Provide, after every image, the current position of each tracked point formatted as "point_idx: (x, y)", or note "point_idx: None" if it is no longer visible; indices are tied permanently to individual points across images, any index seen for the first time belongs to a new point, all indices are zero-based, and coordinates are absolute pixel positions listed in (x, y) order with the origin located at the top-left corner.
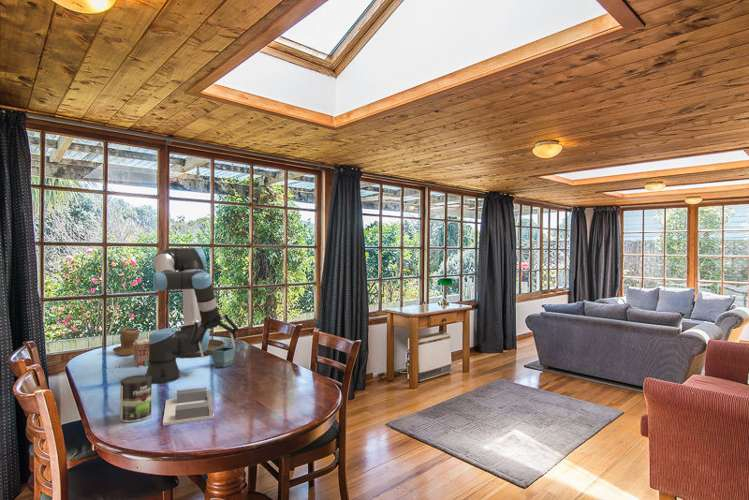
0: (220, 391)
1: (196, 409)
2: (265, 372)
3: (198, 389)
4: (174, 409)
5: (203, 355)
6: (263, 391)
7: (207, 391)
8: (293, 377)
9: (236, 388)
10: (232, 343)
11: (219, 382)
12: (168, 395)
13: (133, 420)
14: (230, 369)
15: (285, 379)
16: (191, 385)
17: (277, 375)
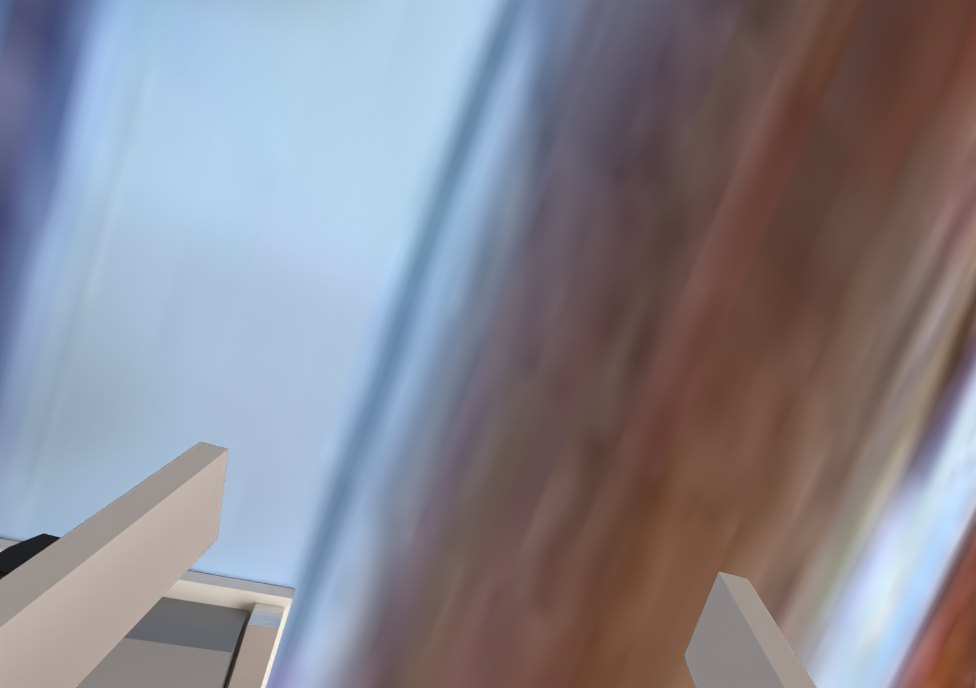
0: (396, 506)
1: None
2: (810, 272)
3: (151, 678)
4: None
5: (199, 557)
6: (621, 665)
7: (245, 652)
8: (878, 497)
9: (512, 505)
10: (721, 655)
11: (470, 287)
12: (3, 360)
13: None
14: (666, 5)
15: (826, 507)
16: (259, 215)
17: (832, 393)
